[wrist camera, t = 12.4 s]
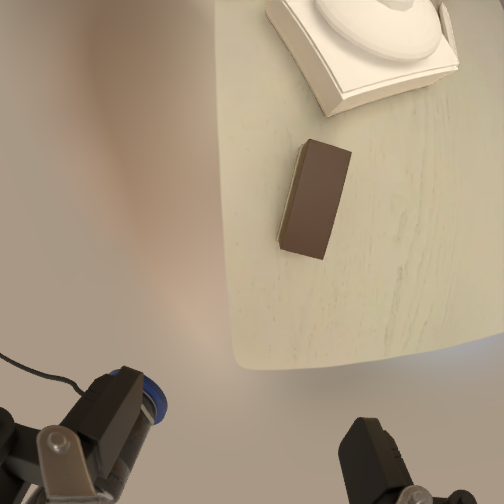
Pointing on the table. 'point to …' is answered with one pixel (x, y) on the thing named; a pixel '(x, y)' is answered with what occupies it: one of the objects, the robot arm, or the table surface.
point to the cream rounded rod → (447, 28)
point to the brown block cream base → (313, 199)
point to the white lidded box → (362, 47)
